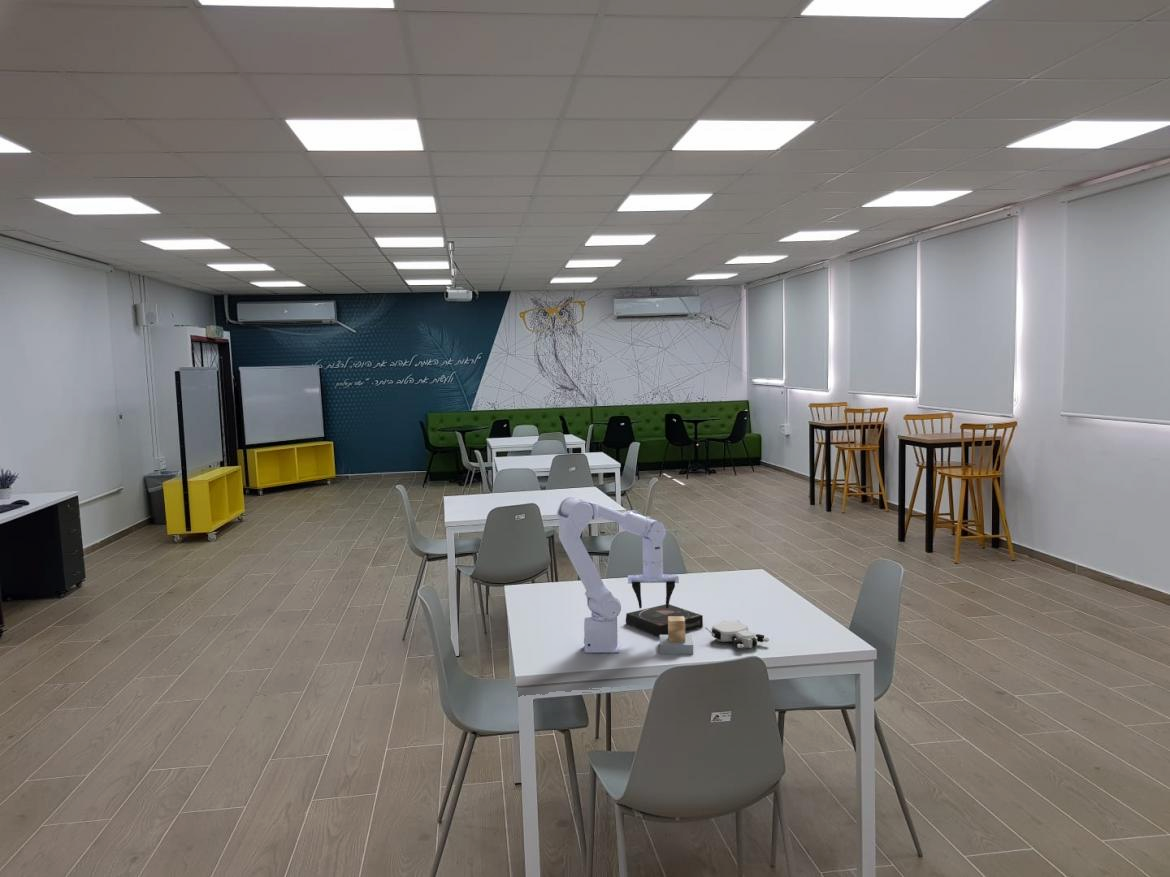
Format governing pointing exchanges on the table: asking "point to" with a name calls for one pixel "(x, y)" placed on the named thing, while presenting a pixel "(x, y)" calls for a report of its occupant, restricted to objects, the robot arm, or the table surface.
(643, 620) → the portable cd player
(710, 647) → the table surface
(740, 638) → the robot toy
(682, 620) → the oak block
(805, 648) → the table surface
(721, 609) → the table surface
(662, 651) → the slate base
